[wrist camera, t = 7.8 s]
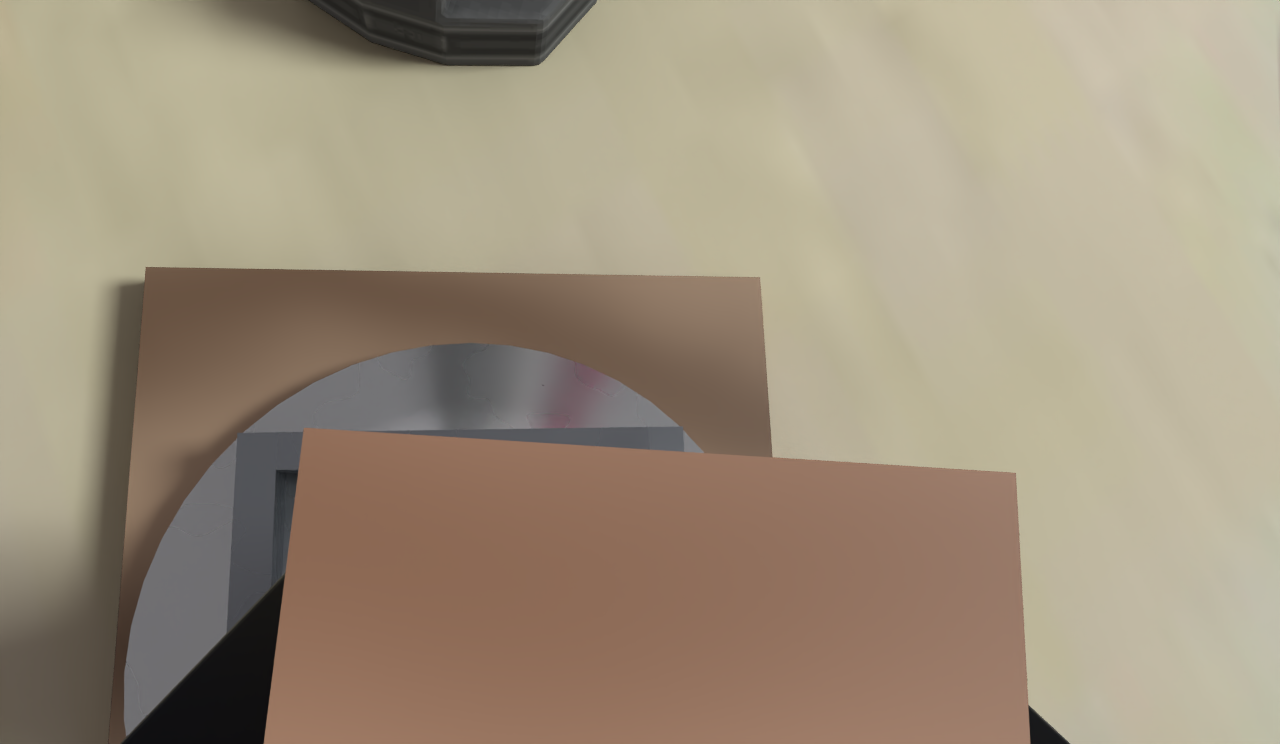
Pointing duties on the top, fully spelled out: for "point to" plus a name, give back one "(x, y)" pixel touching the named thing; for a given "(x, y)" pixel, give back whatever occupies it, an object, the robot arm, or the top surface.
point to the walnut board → (401, 320)
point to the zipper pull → (463, 27)
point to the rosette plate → (356, 401)
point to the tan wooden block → (643, 598)
